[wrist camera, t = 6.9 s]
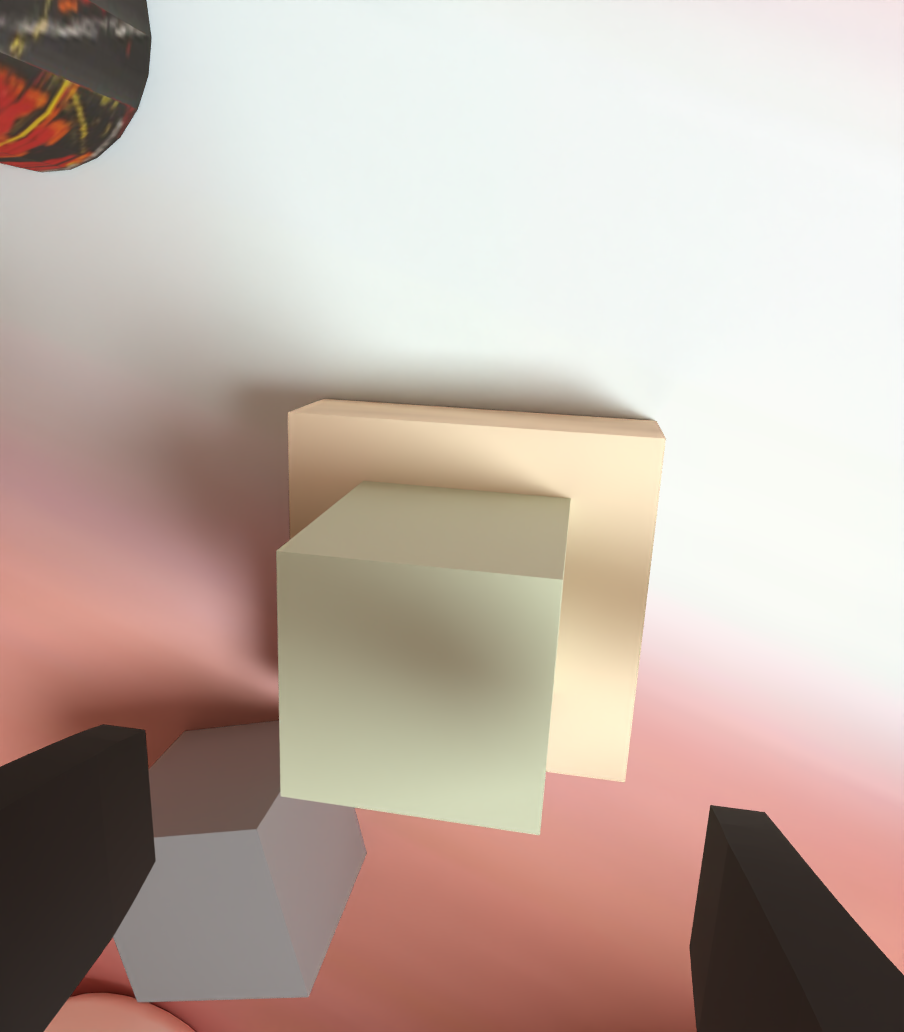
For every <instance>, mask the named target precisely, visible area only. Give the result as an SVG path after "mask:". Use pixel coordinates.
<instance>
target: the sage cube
mask: <svg viewBox="0 0 904 1032" xmlns="http://www.w3.org/2000/svg"><path fill="white" fill-rule="evenodd" d="M570 501H571V498H560V497H548V496H537V495H525V494H513V493H501V492H489V491H478V490H466V489H454V488H442V487H431V486H419V485H407V484H395V483H384V482H372V481H363V482H361V483H360V484H359V485H358V486H356V487H355V488H354V489H353V490H351V491H350V492H349V493H348V494H346V495H345V496H344V497H343V498H341V499H340V500H339V501H338V502H336V503H335V504H334V505H333V506H332V507H330V508H329V509H328V510H327V511H325V512H324V513H323V514H322V515H320V516H319V517H318V518H317V519H315V520H314V521H313V522H312V523H310V524H309V525H308V526H307V527H305V528H304V529H303V530H302V531H300V532H299V533H298V534H297V535H295V536H294V537H293V538H292V539H290V540H289V541H288V542H287V543H285V544H284V545H283V546H282V547H281V548H279V549H278V550H277V551H276V571H277V626H278V681H279V736H280V790H281V796H282V797H288V798H295V799H302V800H308V801H315V802H322V803H328V804H335V805H342V806H348V807H355V808H362V809H368V810H375V811H382V812H388V813H395V814H402V815H408V816H415V817H422V818H428V819H435V820H442V821H448V822H455V823H462V824H468V825H475V826H482V827H488V828H495V829H502V830H508V831H515V832H522V833H528V834H535V835H540V828H541V818H542V807H543V796H544V786H545V775H546V765H547V754H548V744H549V733H550V723H551V712H552V701H553V691H554V680H555V669H556V657H557V646H558V635H559V624H560V613H561V602H562V591H563V579H564V568H565V557H566V546H567V535H568V524H569V512H570Z"/></svg>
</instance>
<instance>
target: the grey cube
mask: <svg viewBox="0 0 904 1032" xmlns="http://www.w3.org/2000/svg"><path fill="white" fill-rule="evenodd" d="M148 771H149V783H150V796H151V808H152V821H153V833H154V846H155V858H156V862H155V863H154V865H153V867H152V869H151V871H150V873H149V874H148V876H147V878H146V880H145V882H144V884H143V886H142V887H141V889H140V891H139V893H138V895H137V897H136V899H135V900H134V902H133V904H132V906H131V907H130V909H129V911H128V912H127V914H126V916H125V917H124V919H123V921H122V923H121V924H120V926H119V928H118V929H117V931H116V933H115V935H114V936H113V938H114V941H115V943H116V946H117V949H118V951H119V954H120V957H121V960H122V962H123V965H124V968H125V970H126V973H127V976H128V978H129V981H130V984H131V987H132V989H133V992H134V995H135V997H136V1000H137V1002H168V1001H201V1000H233V999H265V998H298V997H309V995H310V992H311V990H312V987H313V985H314V982H315V980H316V977H317V975H318V973H319V970H320V968H321V965H322V963H323V960H324V958H325V955H326V953H327V950H328V948H329V945H330V943H331V940H332V938H333V935H334V933H335V930H336V928H337V925H338V923H339V921H340V918H341V916H342V913H343V911H344V908H345V906H346V903H347V901H348V898H349V896H350V893H351V891H352V888H353V886H354V883H355V881H356V878H357V876H358V874H359V871H360V869H361V866H362V864H363V861H364V859H365V856H366V854H367V852H366V848H365V845H364V841H363V837H362V834H361V830H360V826H359V823H358V819H357V815H356V812H355V808H354V807H348V806H342V805H335V804H328V803H322V802H315V801H308V800H302V799H295V798H288V797H282V796H281V790H280V736H279V720H278V721H269V722H260V723H251V724H243V725H234V726H225V727H216V728H208V729H199V730H190V731H184V732H183V733H182V734H181V735H180V737H179V738H178V739H177V740H176V741H175V742H174V743H173V744H172V745H171V746H170V747H169V748H168V749H167V750H166V751H165V752H164V754H163V755H162V756H161V757H160V758H159V759H158V760H157V761H156V762H155V763H154V764H153V765H152V766H151V767H150V768H149V769H148Z"/></svg>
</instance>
